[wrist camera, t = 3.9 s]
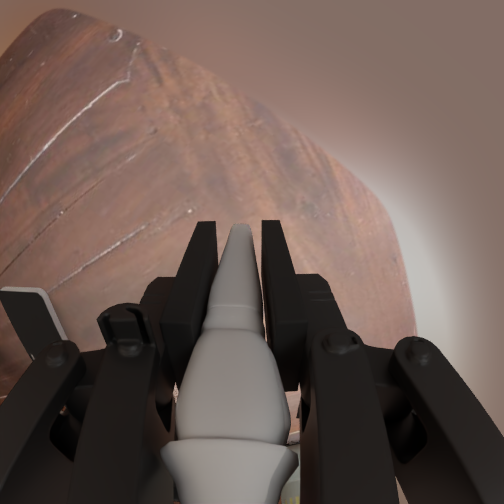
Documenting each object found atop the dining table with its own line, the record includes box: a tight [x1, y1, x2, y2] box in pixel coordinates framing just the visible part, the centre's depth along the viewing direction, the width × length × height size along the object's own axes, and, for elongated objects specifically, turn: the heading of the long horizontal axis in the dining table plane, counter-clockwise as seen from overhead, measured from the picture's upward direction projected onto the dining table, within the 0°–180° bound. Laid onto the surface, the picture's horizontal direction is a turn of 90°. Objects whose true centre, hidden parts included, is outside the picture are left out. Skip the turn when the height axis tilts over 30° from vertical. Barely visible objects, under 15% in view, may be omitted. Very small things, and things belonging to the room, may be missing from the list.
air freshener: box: [281, 444, 300, 504], centre depth 30 cm, size 11×8×10 cm
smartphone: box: [0, 287, 68, 361], centre depth 25 cm, size 8×1×15 cm
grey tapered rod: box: [160, 224, 299, 504], centre depth 9 cm, size 2×3×14 cm
